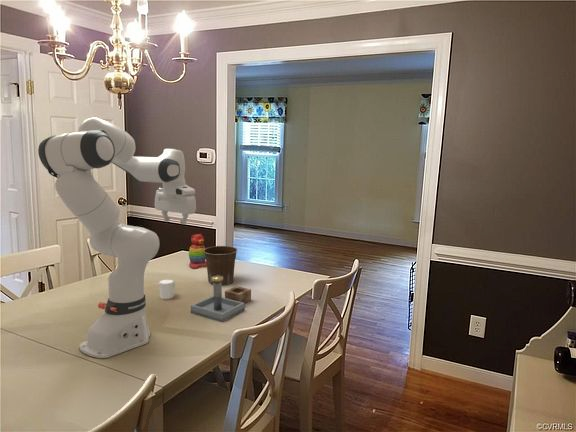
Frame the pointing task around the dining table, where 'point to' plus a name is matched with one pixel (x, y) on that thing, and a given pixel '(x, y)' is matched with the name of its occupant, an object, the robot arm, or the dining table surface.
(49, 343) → the dining table surface
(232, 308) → the tray
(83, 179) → the robot arm
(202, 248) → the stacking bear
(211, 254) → the plant pot
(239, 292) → the pin block
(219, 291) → the steel pin
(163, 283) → the white cylinder
